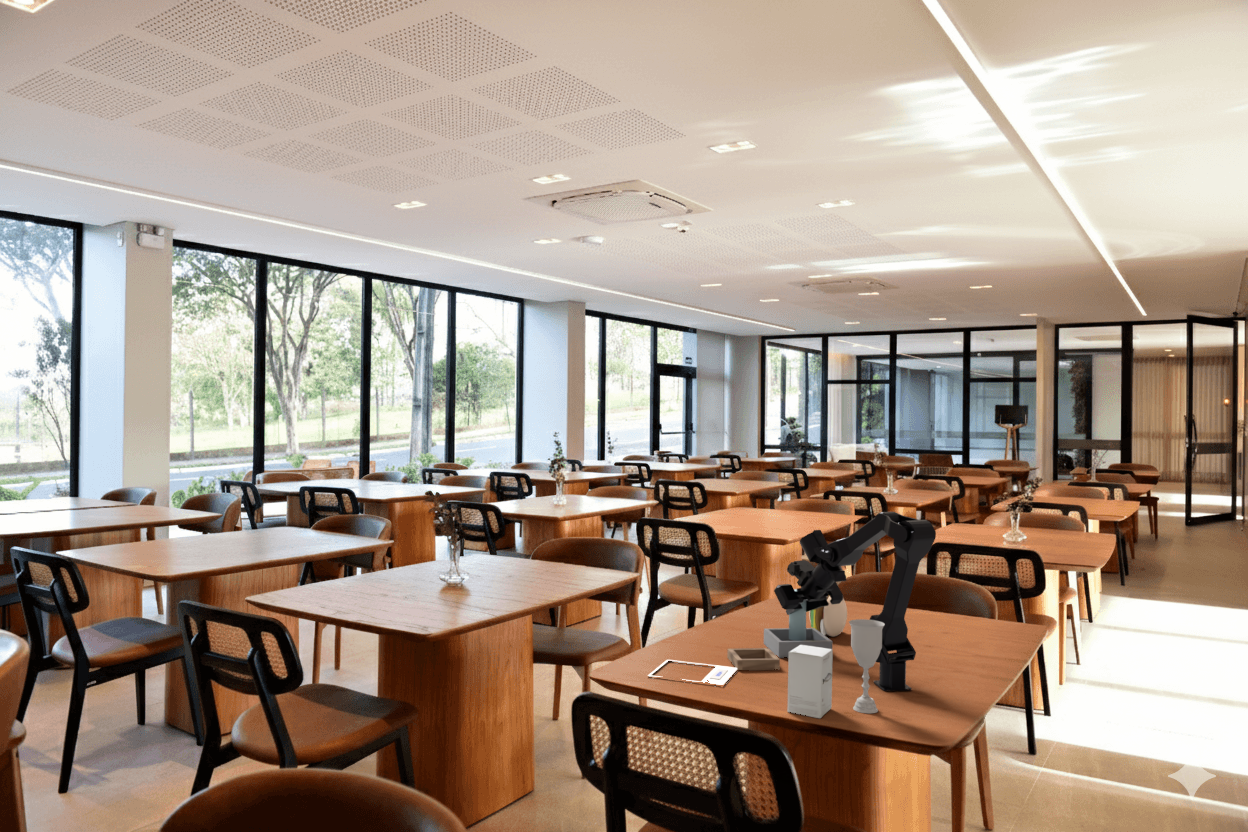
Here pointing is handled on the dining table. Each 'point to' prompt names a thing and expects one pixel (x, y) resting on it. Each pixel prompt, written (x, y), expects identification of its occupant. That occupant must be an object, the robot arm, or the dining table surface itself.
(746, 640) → the dining table surface
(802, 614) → the pale blue tapered cylinder
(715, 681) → the photo frame
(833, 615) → the hamburger
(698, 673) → the dining table surface
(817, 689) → the supplement box
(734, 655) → the holder
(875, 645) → the chalice
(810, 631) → the bin
